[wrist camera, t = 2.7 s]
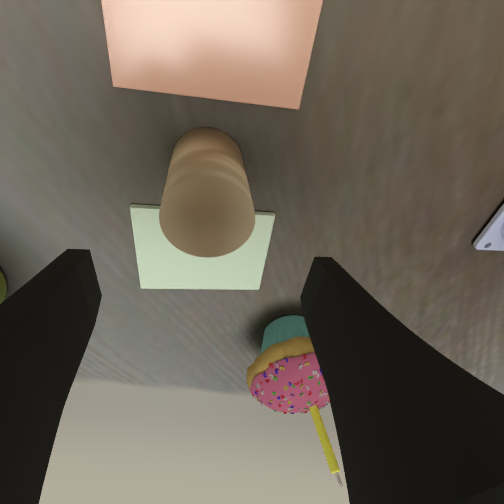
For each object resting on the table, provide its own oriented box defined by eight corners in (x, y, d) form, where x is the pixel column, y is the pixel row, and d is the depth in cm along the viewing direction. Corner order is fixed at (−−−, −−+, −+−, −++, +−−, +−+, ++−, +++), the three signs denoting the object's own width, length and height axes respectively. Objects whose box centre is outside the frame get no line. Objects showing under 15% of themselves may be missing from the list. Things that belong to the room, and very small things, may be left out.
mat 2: (274, 212, 20) (275, 215, 19) (258, 286, 24) (258, 289, 24) (131, 204, 18) (129, 207, 18) (141, 284, 22) (140, 288, 22)
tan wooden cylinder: (246, 131, 16) (262, 181, 12) (238, 196, 19) (248, 258, 14) (170, 123, 15) (155, 173, 11) (172, 192, 18) (161, 256, 13)
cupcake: (347, 323, 29) (412, 470, 20) (284, 363, 32) (314, 504, 23) (289, 287, 25) (339, 454, 16) (223, 337, 28) (232, 498, 19)
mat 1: (339, -91, 11) (343, -93, 11) (296, 107, 16) (298, 109, 15) (83, -156, 10) (79, -161, 9) (115, 84, 14) (113, 86, 14)
